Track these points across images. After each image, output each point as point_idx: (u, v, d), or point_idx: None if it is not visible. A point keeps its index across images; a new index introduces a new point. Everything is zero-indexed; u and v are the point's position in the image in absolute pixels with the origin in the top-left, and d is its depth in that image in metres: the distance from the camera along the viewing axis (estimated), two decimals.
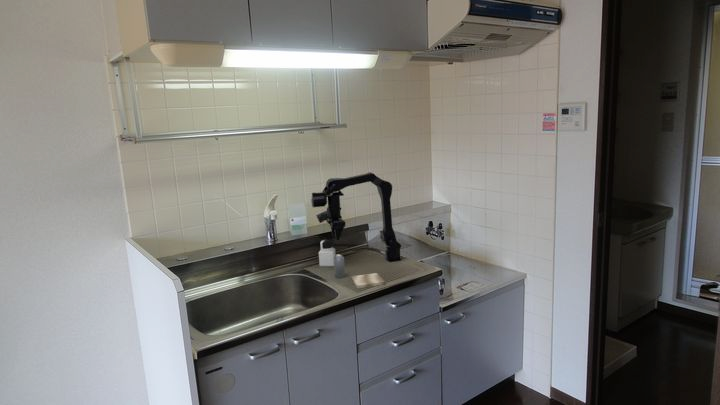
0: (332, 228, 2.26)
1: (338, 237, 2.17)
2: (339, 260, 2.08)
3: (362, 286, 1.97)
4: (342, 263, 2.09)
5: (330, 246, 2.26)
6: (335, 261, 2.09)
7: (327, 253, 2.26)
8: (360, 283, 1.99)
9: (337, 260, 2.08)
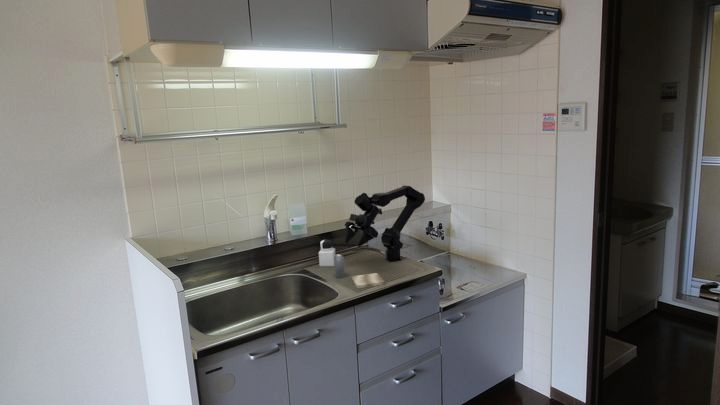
0: (348, 236, 2.18)
1: (360, 244, 2.10)
2: (339, 260, 2.08)
3: (362, 286, 1.97)
4: (342, 263, 2.09)
5: (330, 246, 2.26)
6: (335, 261, 2.09)
7: (327, 253, 2.26)
8: (360, 283, 1.99)
9: (337, 260, 2.08)
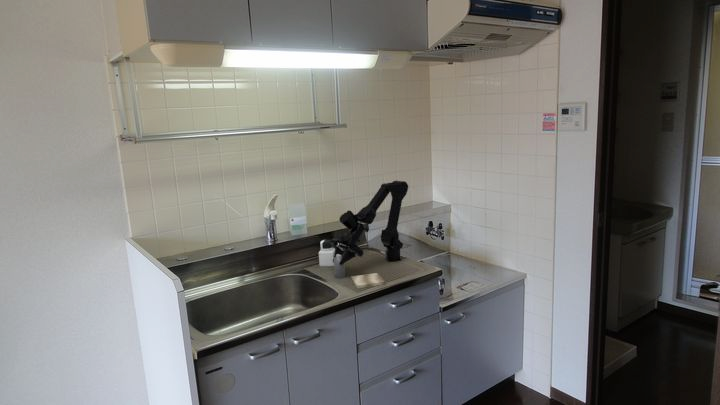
0: None
1: (342, 262, 2.08)
2: (339, 260, 2.08)
3: (362, 286, 1.97)
4: None
5: (330, 246, 2.26)
6: (335, 261, 2.09)
7: (327, 253, 2.26)
8: (360, 283, 1.99)
9: (337, 260, 2.08)
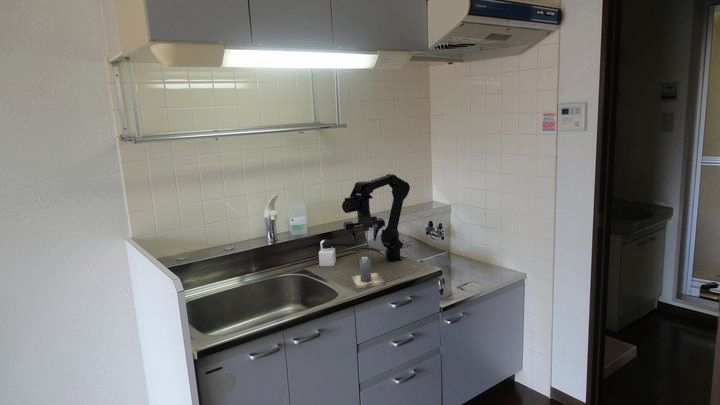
0: (355, 236, 2.16)
1: None
2: (368, 262, 1.99)
3: (362, 286, 1.97)
4: (370, 265, 2.00)
5: (330, 246, 2.26)
6: (363, 264, 1.99)
7: (327, 253, 2.26)
8: (360, 283, 1.99)
9: (366, 263, 1.98)
